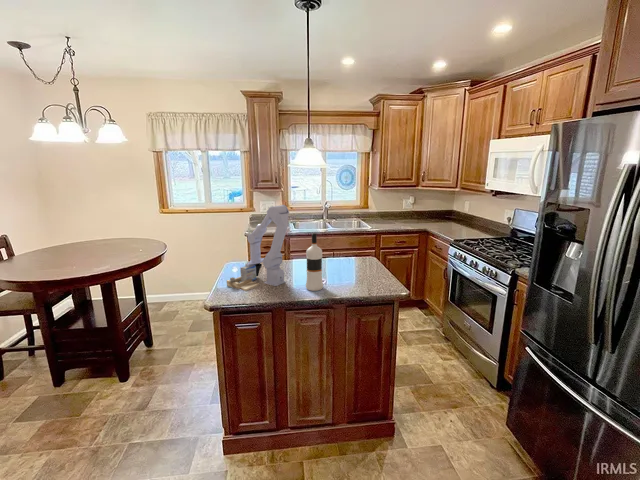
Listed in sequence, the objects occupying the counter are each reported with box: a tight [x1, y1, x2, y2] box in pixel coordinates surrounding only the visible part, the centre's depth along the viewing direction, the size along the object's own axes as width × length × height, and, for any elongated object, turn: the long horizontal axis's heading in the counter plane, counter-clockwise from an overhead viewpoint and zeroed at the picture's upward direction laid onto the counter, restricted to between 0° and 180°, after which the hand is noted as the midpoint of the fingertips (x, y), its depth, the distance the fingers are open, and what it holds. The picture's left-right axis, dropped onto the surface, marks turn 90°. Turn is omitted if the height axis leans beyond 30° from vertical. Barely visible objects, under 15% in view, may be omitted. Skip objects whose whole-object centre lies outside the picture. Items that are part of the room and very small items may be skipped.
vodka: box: [305, 232, 324, 292], centre depth 168 cm, size 9×9×30 cm
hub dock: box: [226, 276, 260, 292], centre depth 175 cm, size 14×11×5 cm
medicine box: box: [240, 265, 257, 282], centre depth 182 cm, size 8×4×9 cm, turn 145°
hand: (256, 276), depth 188 cm, fingers closed
